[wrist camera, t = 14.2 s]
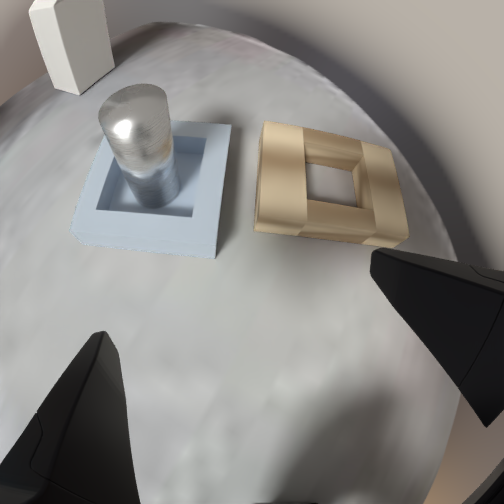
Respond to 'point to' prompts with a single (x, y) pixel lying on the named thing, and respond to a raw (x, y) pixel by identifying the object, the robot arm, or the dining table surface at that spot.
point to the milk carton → (73, 41)
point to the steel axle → (143, 143)
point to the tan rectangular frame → (322, 213)
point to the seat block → (168, 217)
